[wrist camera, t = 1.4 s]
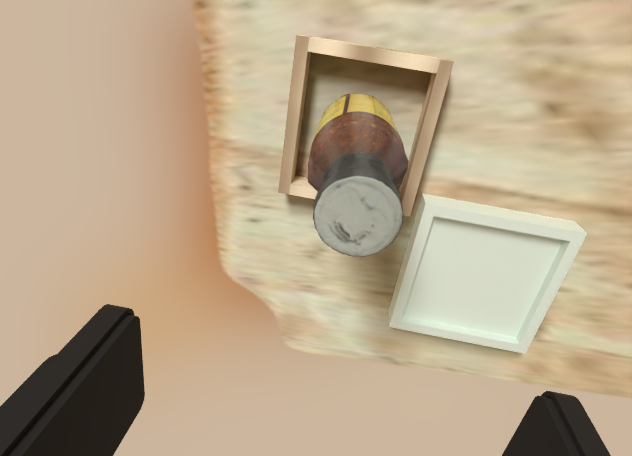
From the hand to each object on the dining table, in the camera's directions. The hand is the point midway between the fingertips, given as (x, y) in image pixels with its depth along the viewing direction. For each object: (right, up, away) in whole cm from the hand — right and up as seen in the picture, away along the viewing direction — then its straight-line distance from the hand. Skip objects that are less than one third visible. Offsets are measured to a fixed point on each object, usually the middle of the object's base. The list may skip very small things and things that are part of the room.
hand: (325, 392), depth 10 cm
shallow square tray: (+16, 0, +31) cm, 35 cm away
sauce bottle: (+4, +13, +26) cm, 30 cm away
